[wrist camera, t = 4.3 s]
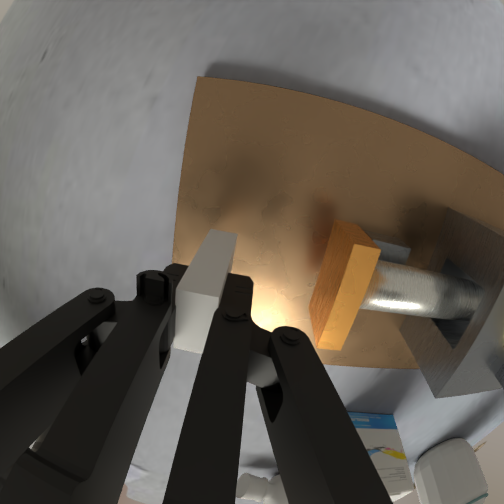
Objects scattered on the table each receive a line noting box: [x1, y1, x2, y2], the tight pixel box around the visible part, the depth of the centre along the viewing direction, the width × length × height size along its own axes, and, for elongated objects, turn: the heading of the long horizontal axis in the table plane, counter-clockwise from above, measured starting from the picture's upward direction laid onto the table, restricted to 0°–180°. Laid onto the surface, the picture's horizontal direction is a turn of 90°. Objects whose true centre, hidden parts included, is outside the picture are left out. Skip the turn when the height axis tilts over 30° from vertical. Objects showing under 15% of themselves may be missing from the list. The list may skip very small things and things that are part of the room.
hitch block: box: [172, 76, 504, 398], centre depth 15 cm, size 34×20×11 cm, turn 80°
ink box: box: [348, 412, 414, 502], centre depth 24 cm, size 9×8×12 cm
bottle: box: [236, 473, 289, 504], centre depth 32 cm, size 9×9×30 cm
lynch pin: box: [308, 219, 485, 351], centre depth 15 cm, size 13×6×4 cm, turn 80°
